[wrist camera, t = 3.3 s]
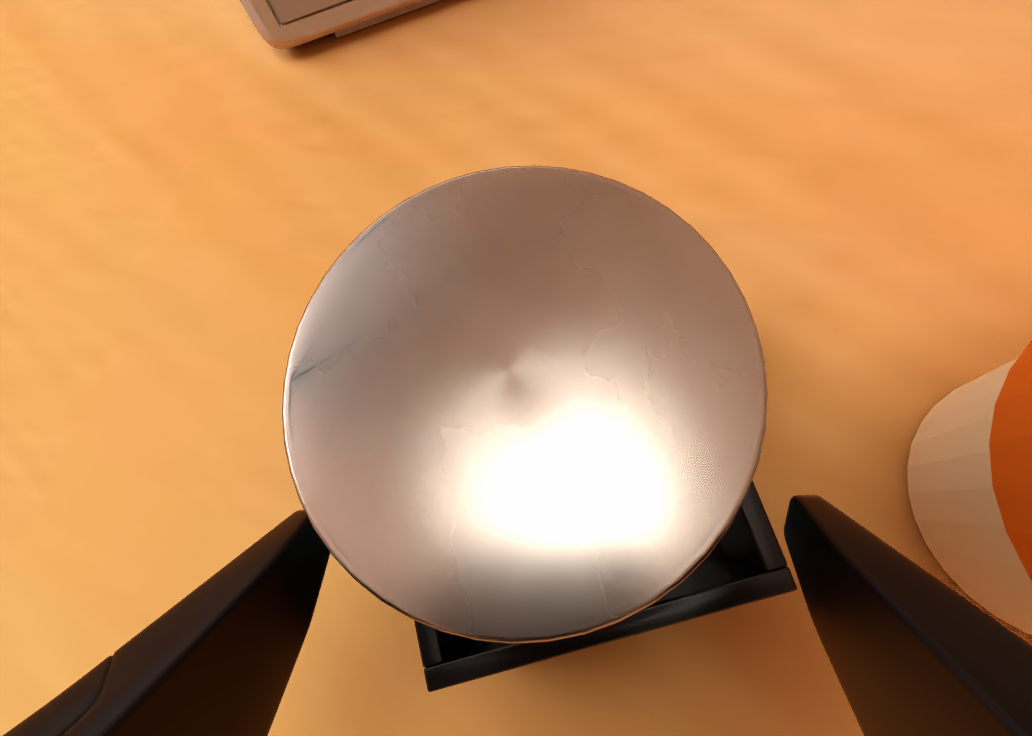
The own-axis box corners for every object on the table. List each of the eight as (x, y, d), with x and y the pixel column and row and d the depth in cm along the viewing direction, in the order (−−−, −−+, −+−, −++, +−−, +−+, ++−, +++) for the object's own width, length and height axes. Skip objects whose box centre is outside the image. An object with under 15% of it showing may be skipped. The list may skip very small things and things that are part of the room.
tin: (668, 518, 17) (868, 557, 5) (499, 567, 17) (317, 710, 5) (610, 356, 19) (658, 107, 7) (457, 403, 19) (255, 241, 7)
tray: (743, 567, 17) (799, 590, 13) (465, 646, 17) (427, 693, 13) (637, 296, 20) (652, 240, 16) (405, 369, 20) (357, 333, 16)
